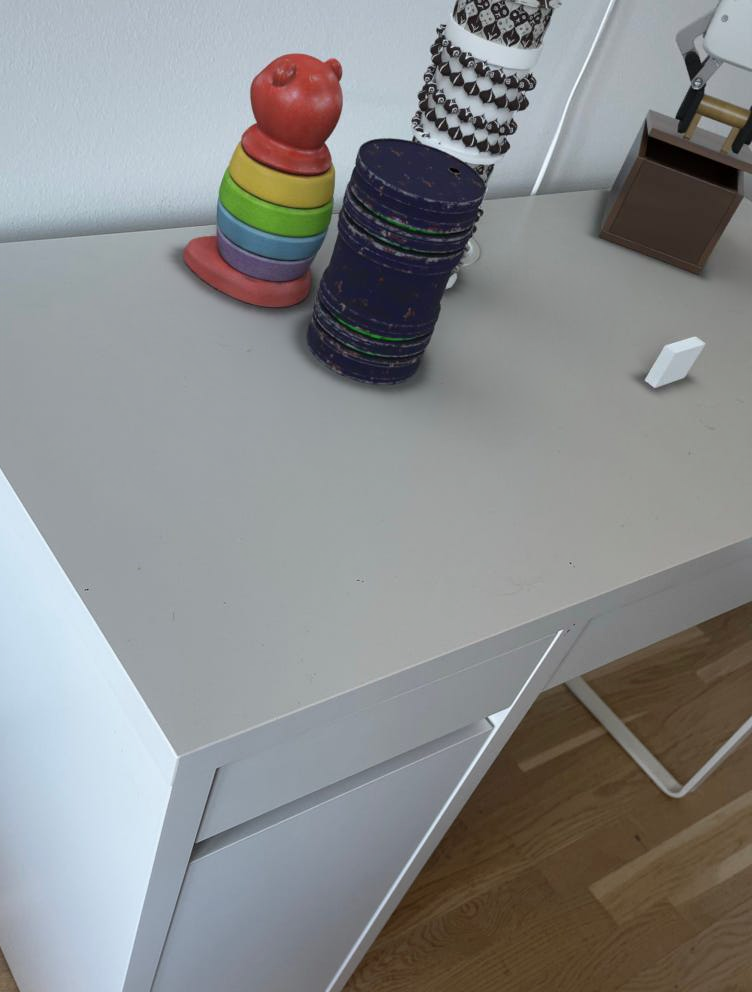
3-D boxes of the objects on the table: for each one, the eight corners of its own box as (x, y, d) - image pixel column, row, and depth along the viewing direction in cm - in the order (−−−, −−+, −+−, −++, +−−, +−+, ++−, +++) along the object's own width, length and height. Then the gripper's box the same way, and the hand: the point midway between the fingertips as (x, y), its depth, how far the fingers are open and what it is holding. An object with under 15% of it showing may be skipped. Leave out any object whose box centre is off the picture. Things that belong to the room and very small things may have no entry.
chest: (698, 274, 108) (744, 195, 101) (598, 236, 108) (637, 155, 102) (701, 228, 117) (743, 153, 111) (608, 193, 118) (645, 117, 111)
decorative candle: (347, 246, 94) (438, -63, 75) (419, 237, 98) (521, -55, 80) (405, 298, 89) (516, -15, 71) (478, 287, 94) (599, -10, 76)
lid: (757, 176, 99) (785, 125, 96) (648, 135, 100) (672, 84, 97) (743, 153, 111) (768, 106, 108) (645, 116, 111) (667, 69, 108)
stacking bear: (276, 242, 91) (327, 29, 78) (337, 302, 86) (402, 86, 73) (173, 252, 85) (209, 25, 72) (233, 317, 81) (282, 86, 68)
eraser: (684, 377, 91) (706, 343, 89) (654, 388, 89) (675, 353, 86) (674, 370, 92) (695, 335, 89) (644, 380, 89) (664, 345, 87)
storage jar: (338, 390, 77) (399, 203, 66) (284, 318, 82) (332, 135, 71) (441, 380, 81) (514, 204, 71) (384, 313, 87) (443, 139, 76)
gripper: (905, -45, 90) (785, 156, 103) (726, -108, 91) (630, 99, 104) (916, -29, 85) (788, 181, 98) (726, -96, 86) (625, 121, 99)
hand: (708, 137), depth 101 cm, fingers closed on lid, 5 cm apart
